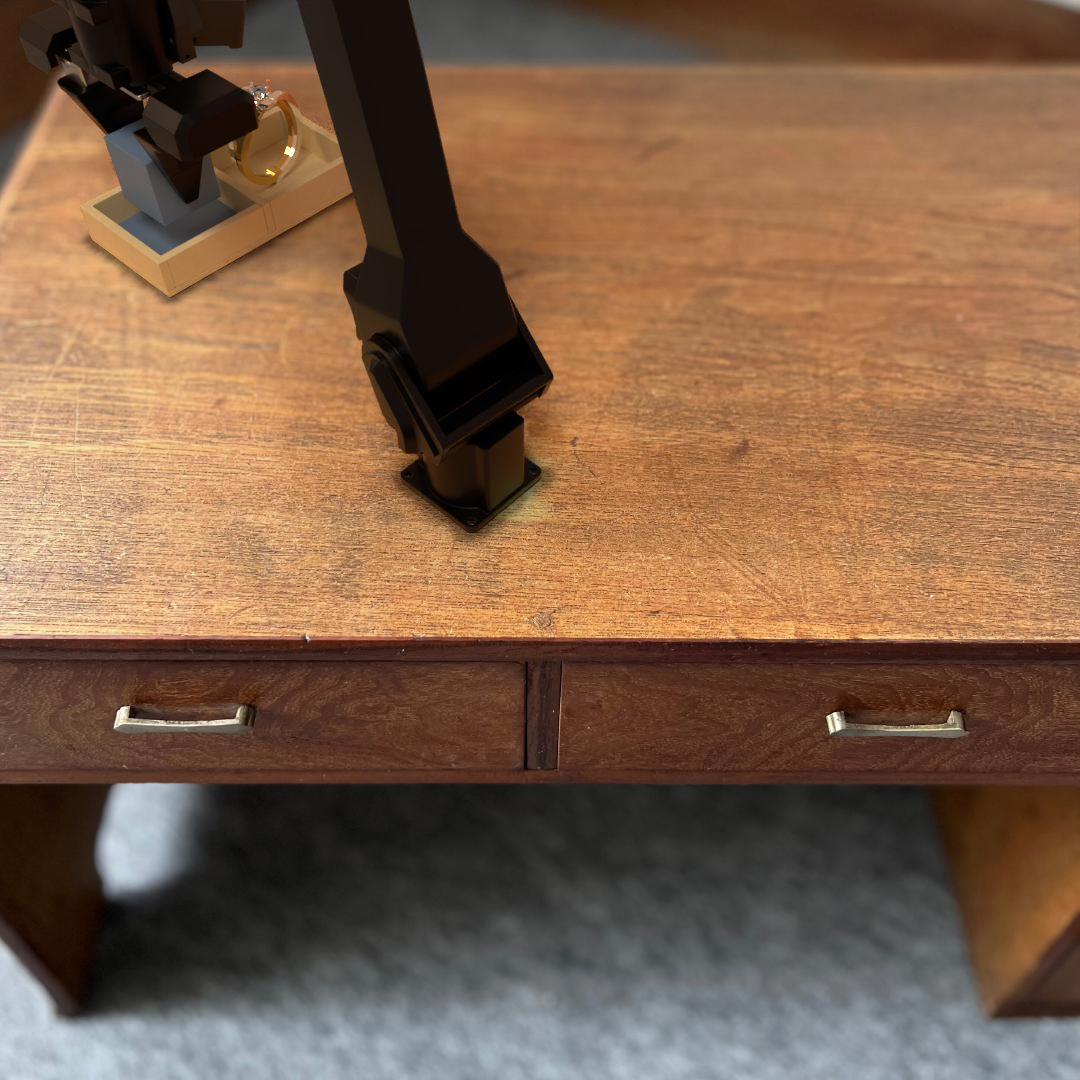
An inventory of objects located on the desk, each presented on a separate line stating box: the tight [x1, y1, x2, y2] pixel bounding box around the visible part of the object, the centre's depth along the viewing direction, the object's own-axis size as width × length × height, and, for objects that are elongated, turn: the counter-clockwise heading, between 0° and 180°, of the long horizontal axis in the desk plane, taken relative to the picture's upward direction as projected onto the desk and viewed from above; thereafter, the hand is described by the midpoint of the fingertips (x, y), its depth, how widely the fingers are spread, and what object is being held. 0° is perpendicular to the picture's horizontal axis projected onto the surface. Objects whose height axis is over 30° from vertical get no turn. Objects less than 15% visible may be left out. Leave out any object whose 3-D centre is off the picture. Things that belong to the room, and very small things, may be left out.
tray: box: [78, 105, 353, 298], centre depth 82 cm, size 19×10×3 cm, turn 138°
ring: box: [229, 79, 303, 185], centre depth 82 cm, size 7×3×8 cm, turn 143°
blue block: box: [103, 118, 221, 226], centre depth 77 cm, size 5×5×5 cm
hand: (169, 186), depth 78 cm, fingers closed on blue block, 5 cm apart
